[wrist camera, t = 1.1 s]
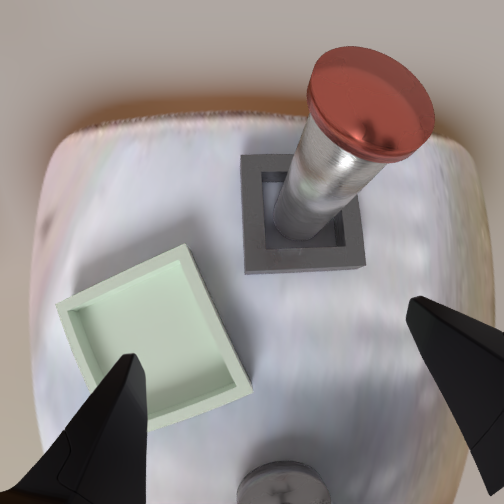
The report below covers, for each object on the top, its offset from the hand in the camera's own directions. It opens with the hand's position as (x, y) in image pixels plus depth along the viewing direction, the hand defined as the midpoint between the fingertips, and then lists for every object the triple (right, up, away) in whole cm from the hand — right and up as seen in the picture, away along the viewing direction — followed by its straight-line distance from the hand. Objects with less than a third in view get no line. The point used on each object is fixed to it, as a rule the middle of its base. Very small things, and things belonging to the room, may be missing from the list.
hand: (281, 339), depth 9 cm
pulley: (+1, -17, +10) cm, 20 cm away
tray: (-8, -4, +12) cm, 15 cm away
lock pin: (+3, +5, +14) cm, 16 cm away
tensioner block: (+3, +5, +14) cm, 16 cm away
